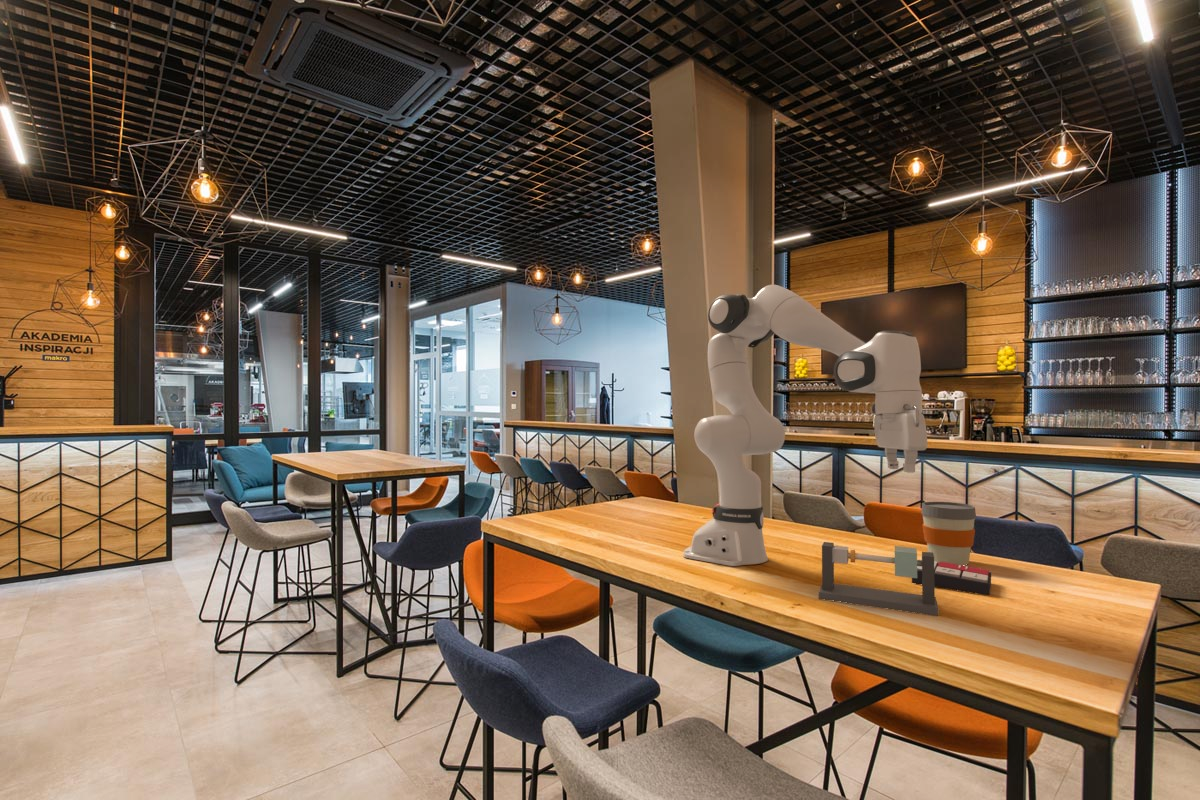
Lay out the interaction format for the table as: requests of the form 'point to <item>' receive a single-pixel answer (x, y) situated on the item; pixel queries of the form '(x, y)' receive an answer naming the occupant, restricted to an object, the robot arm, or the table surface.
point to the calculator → (958, 578)
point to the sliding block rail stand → (876, 596)
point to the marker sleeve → (905, 562)
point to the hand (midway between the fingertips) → (901, 470)
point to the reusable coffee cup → (949, 530)
